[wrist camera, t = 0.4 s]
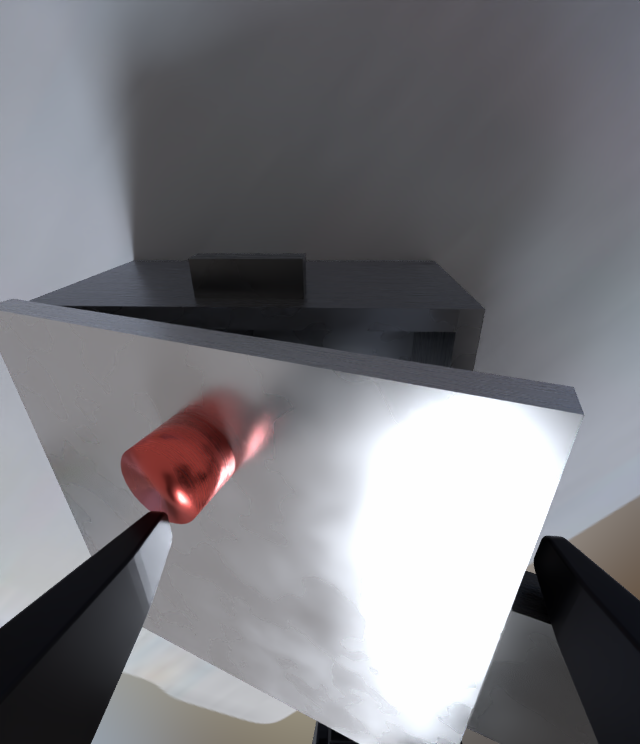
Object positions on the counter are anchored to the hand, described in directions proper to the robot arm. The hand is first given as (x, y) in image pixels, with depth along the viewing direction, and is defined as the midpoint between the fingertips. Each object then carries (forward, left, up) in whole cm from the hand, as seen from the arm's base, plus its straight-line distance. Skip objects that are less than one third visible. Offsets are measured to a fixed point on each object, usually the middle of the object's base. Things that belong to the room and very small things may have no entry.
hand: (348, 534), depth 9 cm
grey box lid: (-4, +2, -2) cm, 5 cm away
